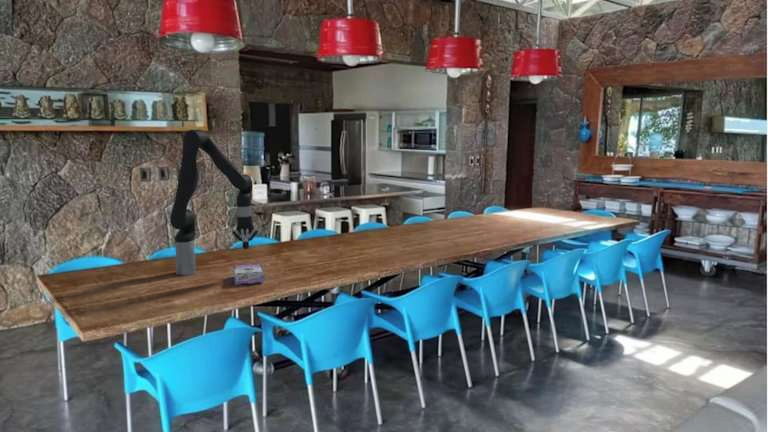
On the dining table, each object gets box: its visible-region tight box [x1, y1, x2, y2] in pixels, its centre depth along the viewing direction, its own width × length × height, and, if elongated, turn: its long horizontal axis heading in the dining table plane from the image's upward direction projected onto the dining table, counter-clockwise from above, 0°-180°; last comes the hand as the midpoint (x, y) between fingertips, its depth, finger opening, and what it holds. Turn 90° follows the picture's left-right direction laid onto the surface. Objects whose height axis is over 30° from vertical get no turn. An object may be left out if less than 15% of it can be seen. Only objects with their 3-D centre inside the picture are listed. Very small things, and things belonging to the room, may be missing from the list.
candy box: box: [233, 263, 264, 286], centre depth 266 cm, size 14×6×16 cm
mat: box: [226, 275, 266, 283], centre depth 268 cm, size 18×8×1 cm, turn 99°
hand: (246, 248), depth 270 cm, fingers closed
